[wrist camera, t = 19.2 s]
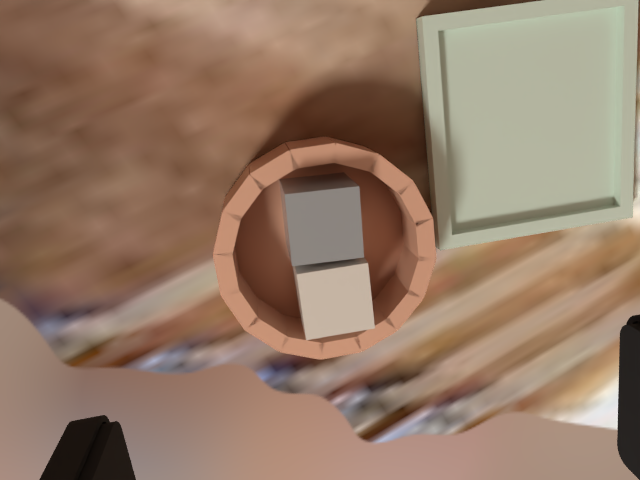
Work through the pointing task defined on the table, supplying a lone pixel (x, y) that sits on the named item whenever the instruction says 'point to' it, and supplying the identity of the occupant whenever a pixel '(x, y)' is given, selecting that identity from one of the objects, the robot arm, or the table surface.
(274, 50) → the table surface
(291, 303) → the bowl
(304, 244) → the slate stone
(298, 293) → the beige block
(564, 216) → the parts tray
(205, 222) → the table surface
